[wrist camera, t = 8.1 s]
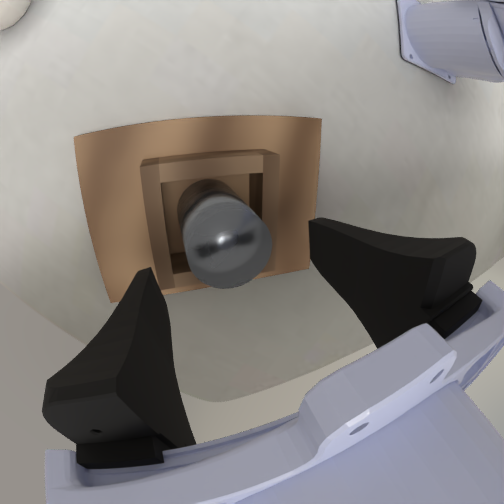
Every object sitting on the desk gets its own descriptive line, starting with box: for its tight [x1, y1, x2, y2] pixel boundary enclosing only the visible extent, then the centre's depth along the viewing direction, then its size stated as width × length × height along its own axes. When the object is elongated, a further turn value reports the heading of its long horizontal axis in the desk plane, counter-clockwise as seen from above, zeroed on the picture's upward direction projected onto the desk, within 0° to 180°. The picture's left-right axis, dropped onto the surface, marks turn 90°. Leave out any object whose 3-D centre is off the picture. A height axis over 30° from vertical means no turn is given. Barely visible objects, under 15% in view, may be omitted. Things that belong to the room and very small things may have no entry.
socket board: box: [74, 116, 322, 303], centre depth 17 cm, size 16×12×4 cm
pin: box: [177, 179, 272, 289], centre depth 15 cm, size 4×4×6 cm
